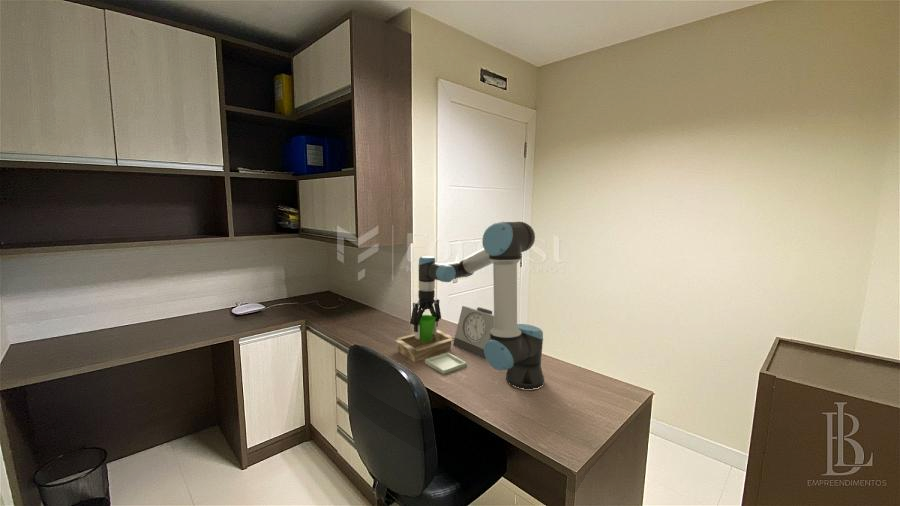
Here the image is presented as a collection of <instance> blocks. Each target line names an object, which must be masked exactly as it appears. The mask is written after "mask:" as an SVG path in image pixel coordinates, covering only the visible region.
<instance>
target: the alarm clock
mask: <svg viewBox="0 0 900 506" xmlns="http://www.w3.org/2000/svg"><path fill="white" fill-rule="evenodd" d="M458 318H459V319H458V323H457V327H456V331H455V335H454V339H453V340H454V341H453V343H452V346H453V347H456V348H458V349H461V350H463V351H465V352H467V353H469V354H472V355H473V356H476V357H478V356H479V358H481V359H483V360H485V358H486V357H485V354H484V346H485V344H486V343H487V341H488V340H490V330H491V329H493V328H494V313H493V311H492V310H491V309H487V308H483V307H477V308H475V307H469V306H466V305H462V307H461V311H460V315H459V317H458Z"/></svg>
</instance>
